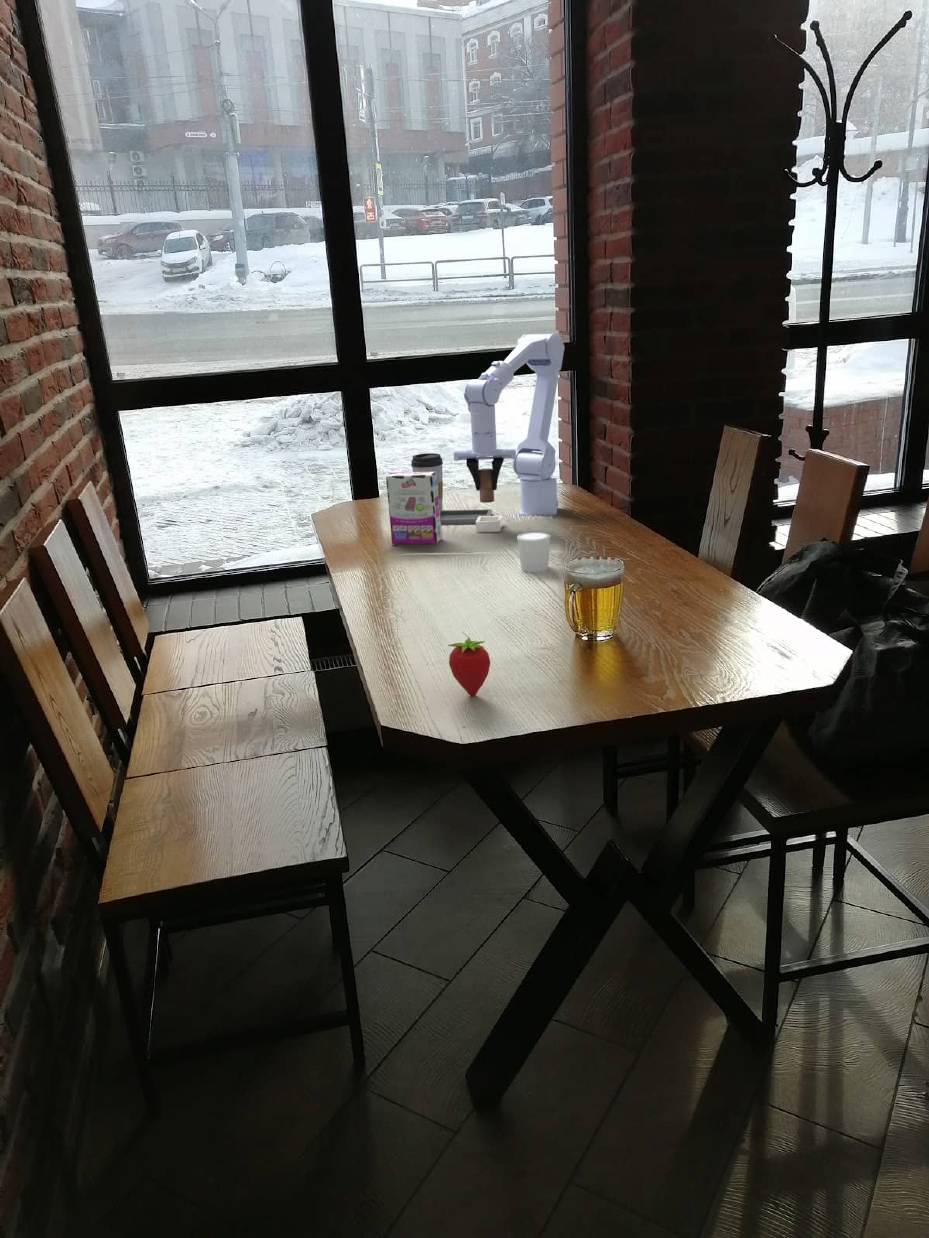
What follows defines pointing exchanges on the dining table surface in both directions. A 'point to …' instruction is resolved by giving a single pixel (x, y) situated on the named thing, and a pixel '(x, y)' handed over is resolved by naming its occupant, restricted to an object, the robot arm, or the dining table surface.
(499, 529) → the white square frame
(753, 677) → the dining table surface
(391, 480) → the candy bar box
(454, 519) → the tray
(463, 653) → the strawberry
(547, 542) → the white tapered cylinder
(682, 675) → the dining table surface
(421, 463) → the coffee cup
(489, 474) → the dowel
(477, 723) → the dining table surface
